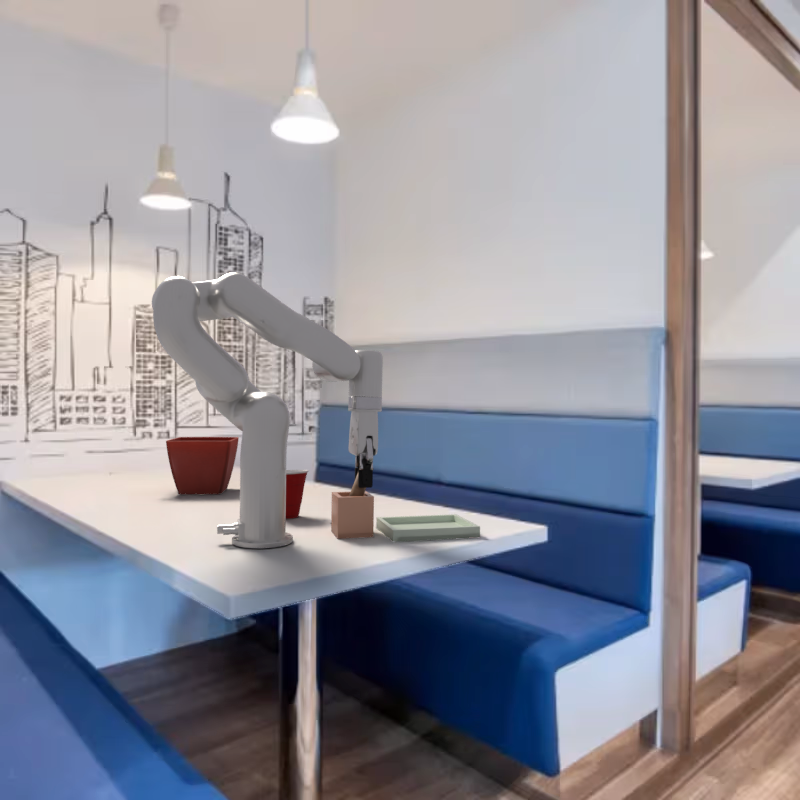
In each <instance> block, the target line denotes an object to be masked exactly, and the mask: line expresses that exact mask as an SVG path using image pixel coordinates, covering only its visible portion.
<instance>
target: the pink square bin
mask: <svg viewBox="0 0 800 800" xmlns="http://www.w3.org/2000/svg"><path fill="white" fill-rule="evenodd" d="M350 492H351V491H332V492H331V523H330V524H331V526H330V528H331V529H330V531H331V533H332V534H333V536H335V538H336V539H338V540H339V539H340V540H341V539H343V540H344V539H360V538H366V539H367V538H374V527H375V526H374V523H375V522H374V521H375V520H374V514H375V513H374V510H375V509H374V507H375V506H374V505H375V496H374V495H372V494H371V493H369V492H368V491H366V490H365V493H364V495H363V496H349V495H350Z"/></svg>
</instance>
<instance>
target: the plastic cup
mask: <svg viewBox="0 0 800 800" xmlns="http://www.w3.org/2000/svg"><path fill="white" fill-rule="evenodd" d="M309 471H310V470H309V469H286V520H287V519H296V518H299V515H300V512H301V505H302V502H303V496H304V489H305V483H306V479H307V476H308V472H309Z"/></svg>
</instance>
